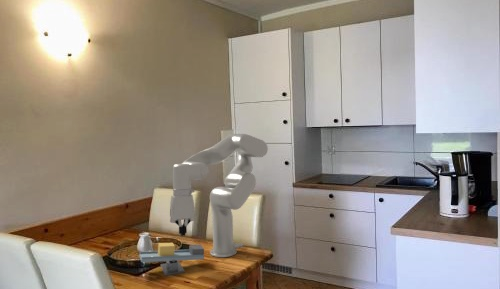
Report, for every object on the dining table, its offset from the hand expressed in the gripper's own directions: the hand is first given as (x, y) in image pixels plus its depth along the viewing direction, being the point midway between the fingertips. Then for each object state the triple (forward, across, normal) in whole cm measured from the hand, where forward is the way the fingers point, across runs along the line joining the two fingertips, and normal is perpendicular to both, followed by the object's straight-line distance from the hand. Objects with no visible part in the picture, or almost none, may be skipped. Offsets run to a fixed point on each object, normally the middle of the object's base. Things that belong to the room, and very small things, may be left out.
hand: (182, 235), depth 166 cm
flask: (+14, +13, -19) cm, 27 cm away
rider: (+8, +7, 0) cm, 11 cm away
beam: (+9, +5, 0) cm, 10 cm away
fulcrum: (+14, +5, 0) cm, 15 cm away
